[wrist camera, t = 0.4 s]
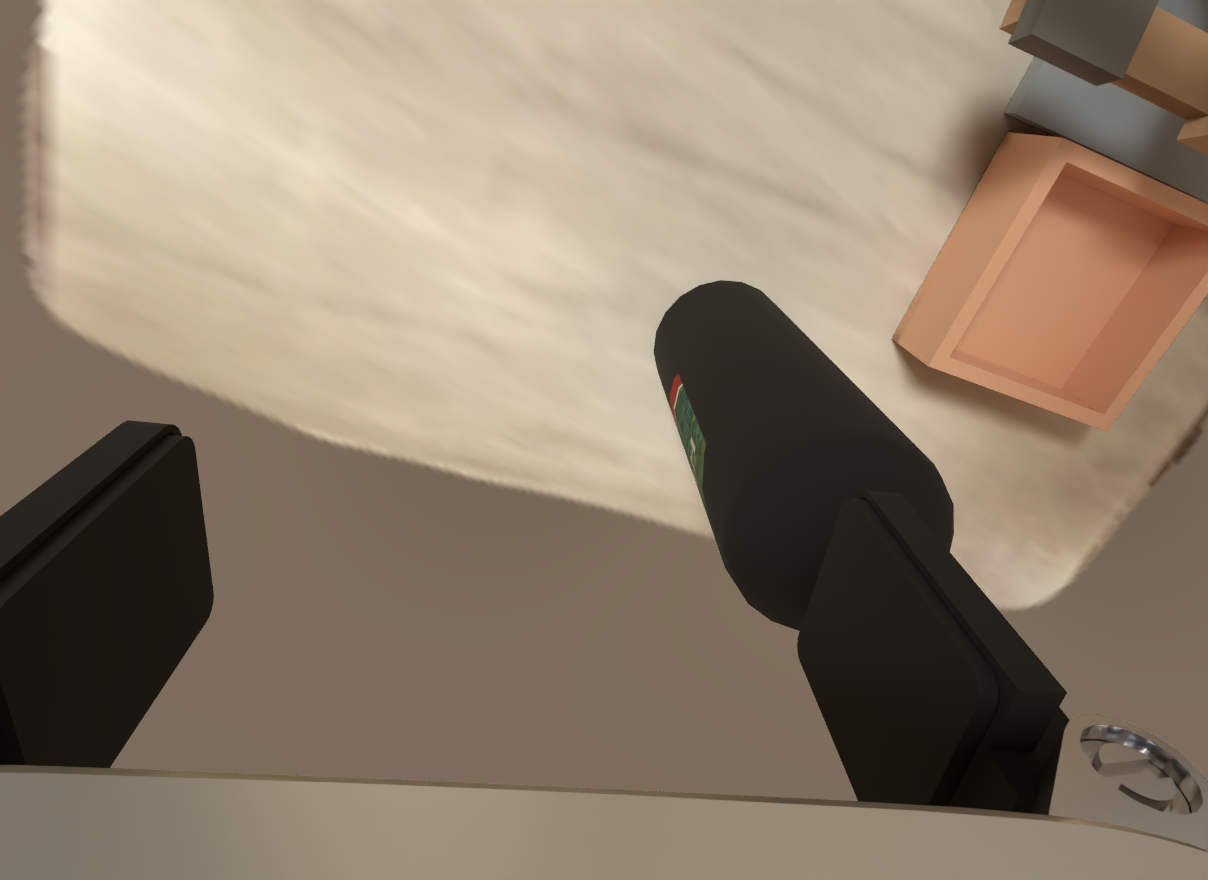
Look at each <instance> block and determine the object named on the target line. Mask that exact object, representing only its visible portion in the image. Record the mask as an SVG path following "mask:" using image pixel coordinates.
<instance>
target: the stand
mask: <svg viewBox="0 0 1208 880" xmlns="http://www.w3.org/2000/svg"><path fill="white" fill-rule="evenodd" d="M1157 7H1159V8H1161V9H1162V10H1164V11H1166V12H1168V13H1170V14H1172V15H1174V16H1176V17H1178V18H1180V19H1182V20H1183V21H1185V22H1187V23H1189V24H1191V25H1193V26H1195V27H1197V28H1199V29H1201V30H1203V31H1204V32H1206V33H1208V0H1159V2H1158V4H1157ZM1004 113H1006V114H1008V115H1010V116H1012V117H1014V118H1016V119H1019V120H1021V121H1023V122H1025V123H1027V124H1029V125H1032V126H1034V127H1036V128H1038V129H1040V130H1042V131H1045V132H1047V133H1049V134H1051V135H1053V136H1055V137H1062V138H1065V139H1067V140H1069V141H1072V142H1074V143H1076V144H1078V145H1080V146H1082V147H1085V148H1087V149H1089V150H1091V151H1093V152H1095V153H1098V154H1100V155H1102V156H1104V157H1106V158H1108V159H1111V160H1113V161H1115V162H1117V163H1119V164H1121V165H1124V166H1126V167H1128V168H1130V169H1132V170H1134V171H1137V172H1139V173H1141V174H1143V175H1145V176H1147V177H1150V178H1152V179H1154V180H1156V181H1158V182H1160V183H1163V184H1165V185H1167V186H1169V187H1171V188H1173V189H1176V190H1178V191H1180V192H1182V193H1184V194H1186V195H1189V196H1191V197H1193V198H1195V199H1197V200H1199V201H1202V202H1204V203H1206V204H1208V155H1206V154H1204V153H1202V152H1200V151H1198V150H1196V149H1194V148H1192V147H1190V146H1188V145H1186V144H1183V143H1181V142H1179V141H1177V140H1176V139H1177V137H1178V135H1179V133H1180V131H1181V129H1182V127H1183V125H1184V123H1185V121H1186V120H1185V119H1183V118H1181V117H1179V116H1177V115H1175V114H1173V113H1171V112H1169V111H1167V110H1165V109H1163V108H1161V107H1159V106H1157V105H1155V104H1153V103H1151V102H1149V101H1147V100H1145V99H1142V98H1140V97H1138V96H1136V95H1134V94H1132V93H1130V92H1128V91H1126V90H1124V89H1122V88H1120V87H1118V86H1116V85H1114V84H1112V83H1106V84H1103V85H1099V86H1095V85H1093V84H1091V83H1089V82H1087V81H1084V80H1082V79H1080V78H1078V77H1076V76H1074V75H1072V74H1070V73H1068V72H1066V71H1064V70H1062V69H1060V68H1058V67H1056V66H1054V65H1051V64H1049V63H1047V62H1045V61H1043V60H1041V59H1039V58H1037V57H1034V59H1033V61H1032V63H1031V64H1030V66H1029V68H1028V70H1027V72H1026V73H1025V75H1024V77H1023V79H1022V81H1021V82H1020V84H1019V86H1018V88H1017V90H1016V92H1015V93H1014V95H1013V97H1012V99H1011V101H1010V102H1009V104H1008V106H1007V108H1006V110H1005V111H1004Z"/></svg>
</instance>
